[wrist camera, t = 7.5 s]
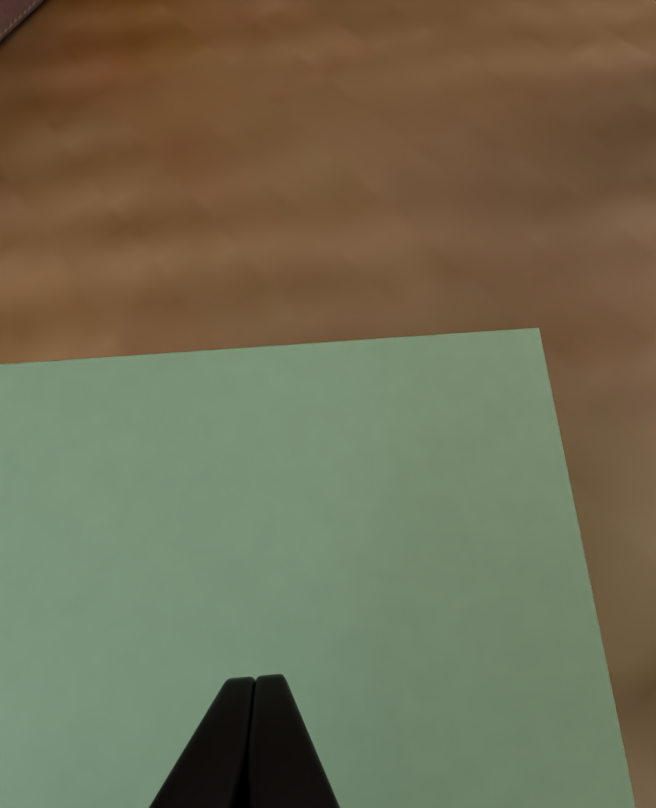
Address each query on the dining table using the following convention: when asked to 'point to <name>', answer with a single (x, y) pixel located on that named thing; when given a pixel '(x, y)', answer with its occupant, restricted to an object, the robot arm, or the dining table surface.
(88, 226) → the dining table surface
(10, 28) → the letter holder
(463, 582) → the lid
